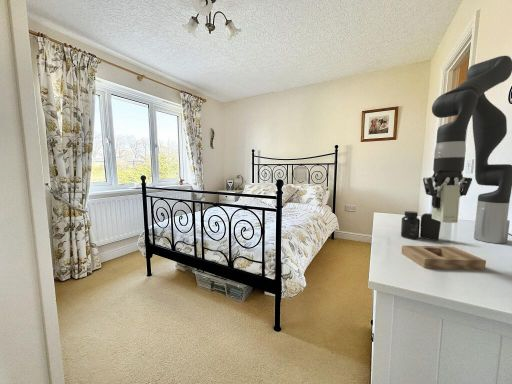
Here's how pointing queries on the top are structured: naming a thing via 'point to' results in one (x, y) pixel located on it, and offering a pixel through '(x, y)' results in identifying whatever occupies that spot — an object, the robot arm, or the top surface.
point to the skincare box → (447, 204)
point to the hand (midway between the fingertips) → (444, 207)
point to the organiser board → (443, 257)
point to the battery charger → (429, 227)
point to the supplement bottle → (410, 225)
